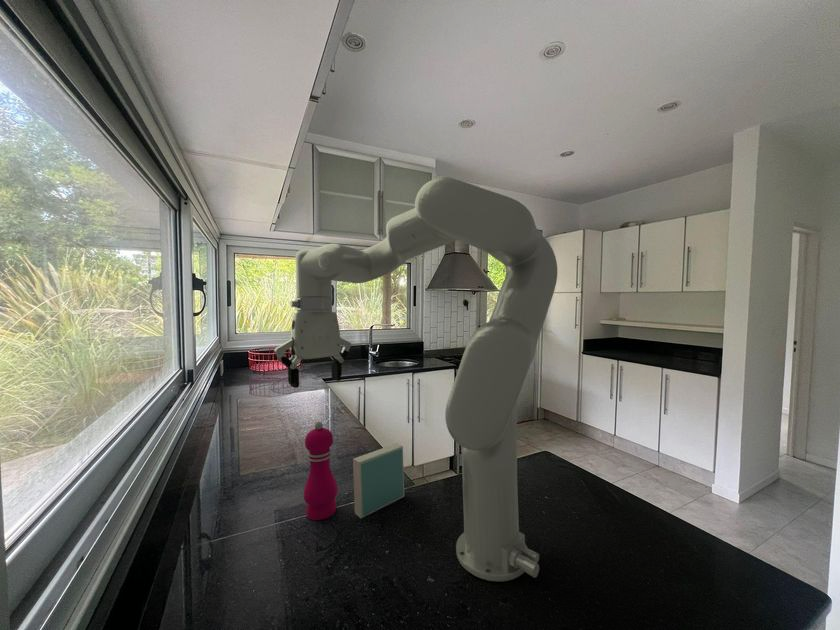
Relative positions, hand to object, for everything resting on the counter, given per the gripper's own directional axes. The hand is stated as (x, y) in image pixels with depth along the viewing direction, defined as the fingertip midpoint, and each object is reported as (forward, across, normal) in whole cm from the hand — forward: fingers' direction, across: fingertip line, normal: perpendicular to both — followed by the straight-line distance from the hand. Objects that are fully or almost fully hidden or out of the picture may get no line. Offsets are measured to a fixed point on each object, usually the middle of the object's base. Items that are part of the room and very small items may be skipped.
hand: (316, 383), depth 73 cm
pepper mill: (+29, 0, 0) cm, 29 cm away
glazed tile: (+28, +11, -8) cm, 32 cm away
